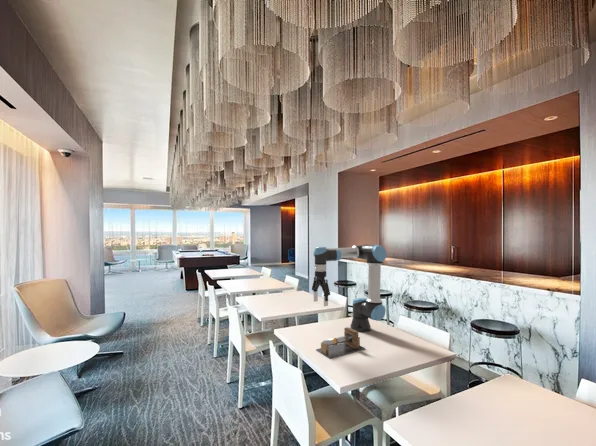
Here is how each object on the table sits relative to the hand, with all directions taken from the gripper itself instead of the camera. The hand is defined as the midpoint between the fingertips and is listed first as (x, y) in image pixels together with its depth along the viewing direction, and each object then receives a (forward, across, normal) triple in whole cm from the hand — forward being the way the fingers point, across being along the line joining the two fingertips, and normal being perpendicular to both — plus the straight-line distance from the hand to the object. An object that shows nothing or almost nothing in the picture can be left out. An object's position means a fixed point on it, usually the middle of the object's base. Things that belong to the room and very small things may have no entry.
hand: (320, 303), depth 189 cm
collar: (+26, +9, +17) cm, 33 cm away
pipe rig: (+27, +10, +9) cm, 30 cm away
